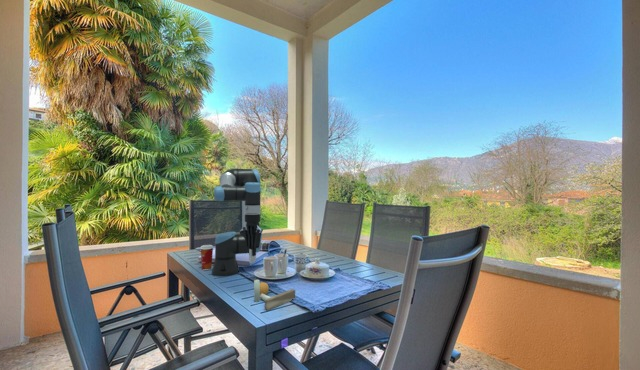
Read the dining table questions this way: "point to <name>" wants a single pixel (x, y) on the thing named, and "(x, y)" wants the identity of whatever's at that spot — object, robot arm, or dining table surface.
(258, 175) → the robot arm
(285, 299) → the back wall
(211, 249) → the paper cup
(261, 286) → the ball
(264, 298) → the ivory pin
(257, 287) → the sage pin
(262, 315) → the dining table surface
